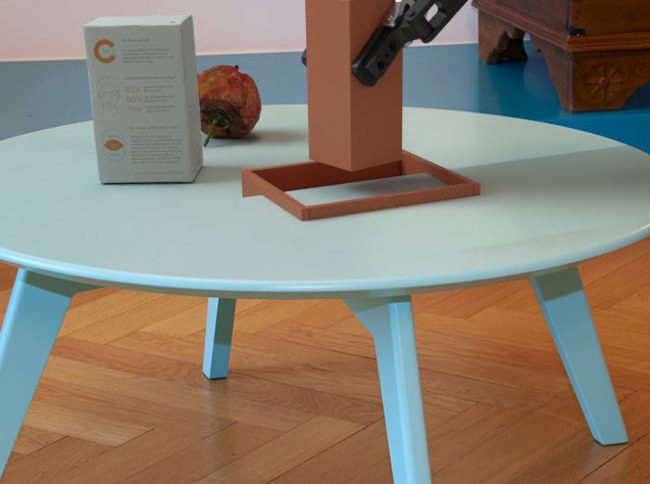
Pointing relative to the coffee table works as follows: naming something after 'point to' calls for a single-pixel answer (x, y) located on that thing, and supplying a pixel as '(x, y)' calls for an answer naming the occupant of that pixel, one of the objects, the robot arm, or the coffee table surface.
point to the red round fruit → (227, 102)
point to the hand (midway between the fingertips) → (335, 73)
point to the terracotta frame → (320, 175)
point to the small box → (144, 98)
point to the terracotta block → (350, 88)
